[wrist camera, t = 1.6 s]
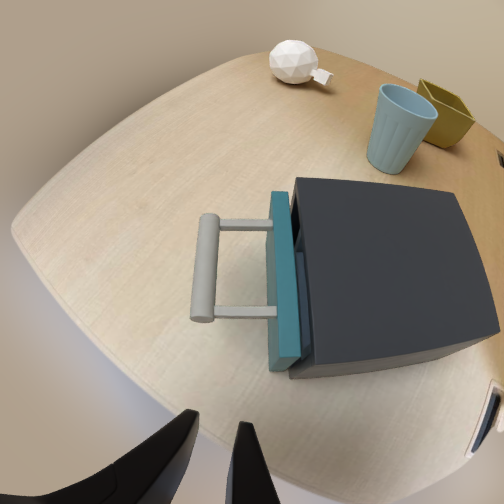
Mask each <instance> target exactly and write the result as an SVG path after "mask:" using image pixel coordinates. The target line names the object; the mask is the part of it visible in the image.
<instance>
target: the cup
mask: <svg viewBox="0 0 504 504" xmlns="http://www.w3.org/2000/svg"><path fill="white" fill-rule="evenodd" d="M437 117H438V113H437V110H436V109H435V108H434V106H433V105H432V104H431V103H430V102H429V101H427V100H426V99H425V98H423V97H422V96H421V95H419V94H417V93H415V92H414V91H412V90H409V89H407V88H405V87H402V86H398V85H394V84H383V85H381V86H380V90H379V96H378V103H377V108H376V113H375V118H374V123H373V128H372V132H371V137H370V141H369V146H368V150H367V158H368V160H369V162H370V163H371V164H372V165H373V166H374V167H375V168H377V169H378V170H380V171H382V172H385V173H388V174H398V173H400V172H401V171H402V169H403V168H404V167H405V165H406V164H407V162H408V161H409V160H410V158H411V157H412V155H413V154H414V152H415V151H416V149H417V148H418V146H419V145H420V143H421V142H422V140H423V139H424V137H425V136H426V134H427V133H428V131H429V129H430V128H431V126H432V125H433V123H434V122H435V120H436V119H437Z"/></svg>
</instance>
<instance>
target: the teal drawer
mask: <svg viewBox="0 0 504 504" xmlns="http://www.w3.org/2000/svg"><path fill="white" fill-rule="evenodd" d="M220 231H267V238H266V267H267V304H268V306H215V297H216V279H217V262H218V247H219V232H220ZM294 256H295V257H294ZM295 268H296V269H295ZM296 280H297V281H296ZM297 294H298V295H297ZM298 308H299V309H298ZM214 318H227V319H268V350H269V371H270V372H274V371H285V370H286V369H287V368H288V367H289V366H291V365H292V364H293V363H294V362H295V361H296V360H298V359H299V358H300V357H301V361H302V360H303V359H304V358H305V357H307V356H308V355H309V354H310V353H311V341H310V326H309V313H308V300H307V288H306V277H305V267H304V257H303V248H302V239H301V230H299V233H298V237H297V240H296V244H295V248H294V245H293V235H292V224H291V214H290V205H289V196H288V192H283V191H272V192H271V201H270V210H269V219H220V218H219V216H218V215H216V214H213V213H206V214H203V215H202V216H201V217H200V221H199V229H198V238H197V246H196V255H195V265H194V275H193V285H192V296H191V308H190V319H191V320H192V321H194V322H198V323H210V322H213V321H214ZM299 324H300V325H299ZM300 342H301V343H300Z"/></svg>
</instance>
